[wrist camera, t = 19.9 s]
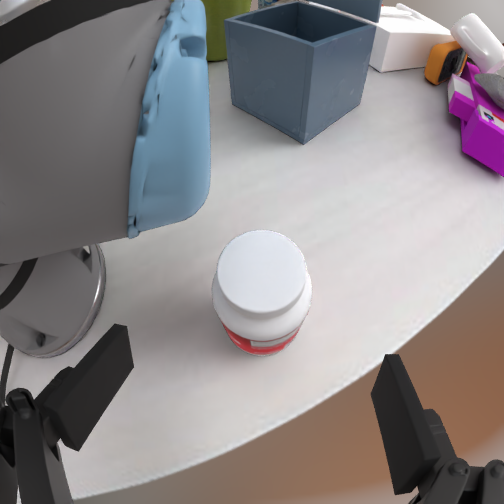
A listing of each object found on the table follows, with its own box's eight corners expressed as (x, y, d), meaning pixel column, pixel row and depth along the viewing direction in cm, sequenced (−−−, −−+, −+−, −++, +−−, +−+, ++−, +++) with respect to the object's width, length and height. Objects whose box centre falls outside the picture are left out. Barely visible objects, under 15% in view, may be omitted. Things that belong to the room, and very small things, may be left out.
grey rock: (529, 131, 28) (542, 107, 25) (498, 108, 28) (511, 81, 24) (494, 100, 36) (503, 79, 32) (463, 80, 36) (472, 57, 32)
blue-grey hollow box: (303, 145, 35) (314, 46, 23) (231, 104, 39) (223, 19, 27) (359, 104, 39) (376, 26, 27) (293, 71, 43) (296, 0, 32)
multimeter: (430, 42, 36) (446, 52, 35) (459, 36, 41) (472, 44, 40) (419, 79, 44) (434, 88, 43) (450, 65, 49) (462, 73, 47)
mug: (503, 53, 27) (462, 6, 27) (474, 76, 34) (437, 31, 35) (514, 58, 31) (480, 17, 32) (489, 76, 38) (458, 37, 39)
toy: (507, 85, 39) (539, 161, 26) (497, 105, 44) (519, 188, 31) (451, 53, 42) (460, 108, 29) (443, 75, 48) (444, 141, 34)
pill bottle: (222, 292, 27) (198, 225, 17) (291, 282, 27) (306, 210, 17) (231, 362, 24) (207, 335, 14) (304, 350, 24) (333, 315, 14)
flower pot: (178, 78, 43) (161, -7, 29) (174, 47, 50) (161, -20, 36) (267, 63, 45) (266, -21, 30) (246, 34, 51) (243, -32, 37)
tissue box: (448, 64, 49) (460, 27, 39) (380, 72, 44) (392, 21, 34) (403, 36, 55) (411, 1, 45) (330, 40, 50) (335, -5, 40)
